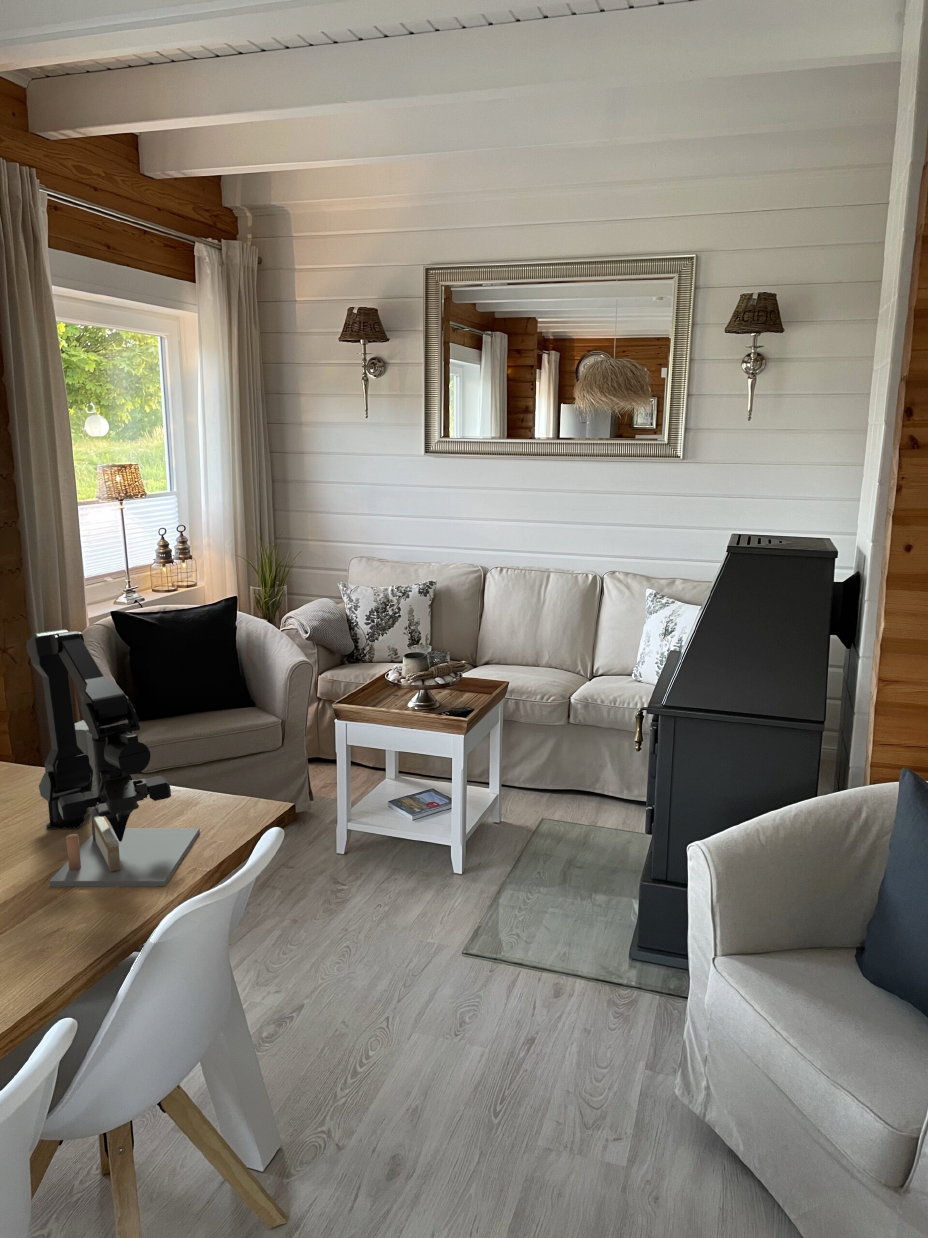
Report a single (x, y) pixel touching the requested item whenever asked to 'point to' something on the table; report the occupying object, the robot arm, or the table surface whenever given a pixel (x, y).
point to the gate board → (126, 858)
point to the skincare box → (86, 751)
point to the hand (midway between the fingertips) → (120, 841)
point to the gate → (107, 843)
